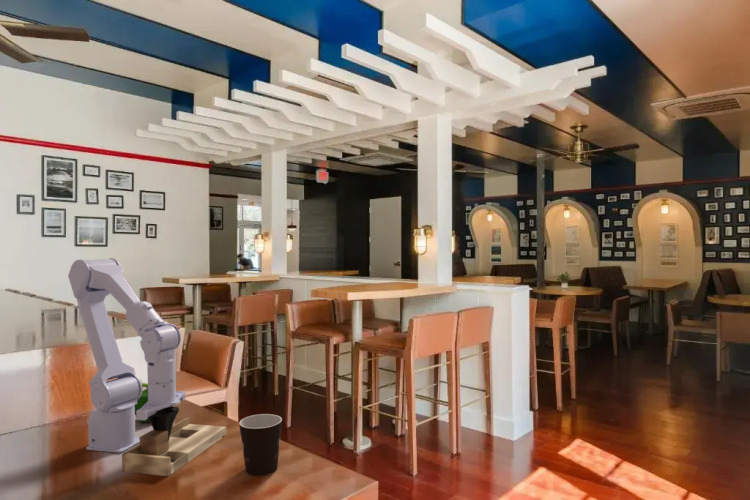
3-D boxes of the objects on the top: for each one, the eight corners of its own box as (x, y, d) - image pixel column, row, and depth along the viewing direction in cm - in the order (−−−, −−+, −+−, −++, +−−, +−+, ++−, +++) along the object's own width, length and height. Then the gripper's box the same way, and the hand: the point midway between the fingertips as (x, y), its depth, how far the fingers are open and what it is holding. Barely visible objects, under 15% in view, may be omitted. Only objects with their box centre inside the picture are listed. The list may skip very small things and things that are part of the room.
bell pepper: (172, 414, 143) (171, 378, 143) (161, 424, 134) (160, 386, 134) (141, 415, 142) (140, 379, 142) (128, 426, 134) (127, 387, 134)
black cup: (273, 480, 102) (272, 429, 102) (232, 476, 104) (231, 427, 104) (294, 456, 113) (293, 410, 113) (257, 453, 115) (256, 408, 115)
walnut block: (140, 455, 110) (139, 437, 110) (153, 448, 114) (151, 430, 114) (156, 456, 109) (155, 437, 109) (168, 449, 113) (167, 430, 113)
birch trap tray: (122, 471, 107) (121, 454, 107) (186, 431, 129) (186, 417, 129) (168, 476, 104) (168, 458, 104) (226, 434, 127) (226, 420, 127)
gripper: (156, 390, 107) (158, 456, 107) (196, 373, 121) (197, 431, 121) (127, 389, 108) (128, 454, 108) (169, 371, 122) (170, 429, 123)
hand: (163, 441), depth 115 cm, fingers closed
